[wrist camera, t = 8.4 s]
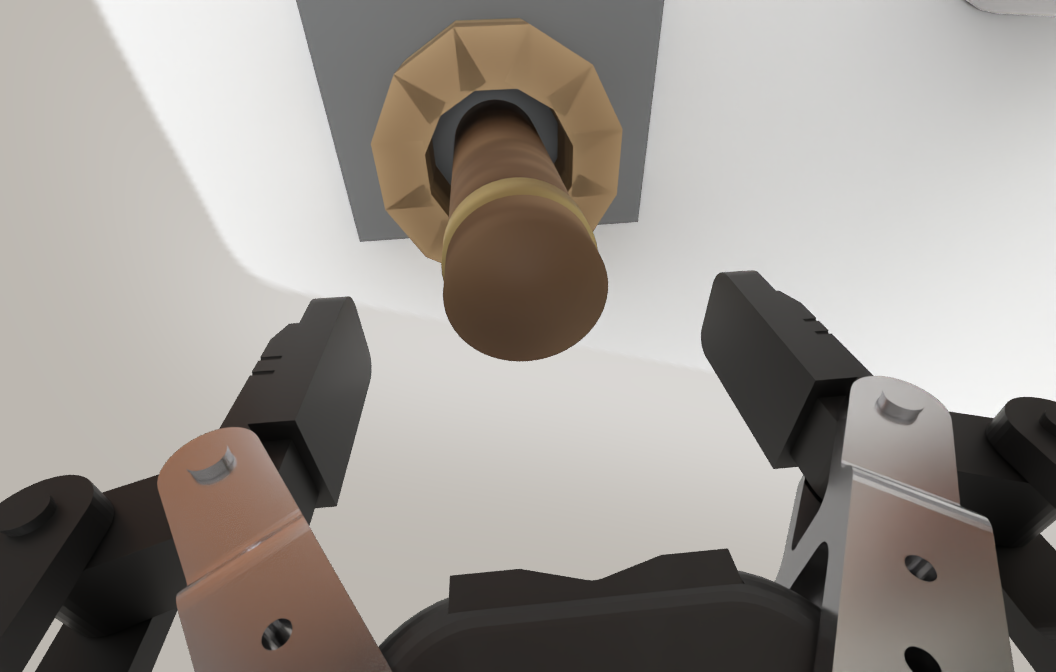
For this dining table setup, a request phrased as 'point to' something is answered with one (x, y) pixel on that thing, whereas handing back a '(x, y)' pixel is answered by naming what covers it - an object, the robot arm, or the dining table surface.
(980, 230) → the dining table surface
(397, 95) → the tan faceted ring
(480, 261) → the banded wooden cylinder
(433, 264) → the dining table surface
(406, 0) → the mat
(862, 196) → the dining table surface
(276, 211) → the dining table surface
